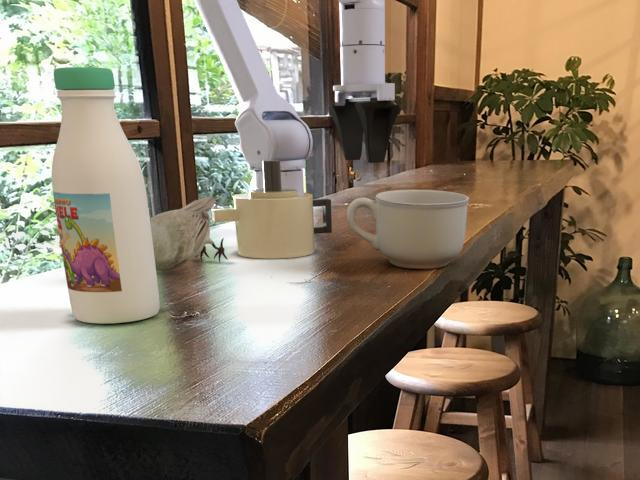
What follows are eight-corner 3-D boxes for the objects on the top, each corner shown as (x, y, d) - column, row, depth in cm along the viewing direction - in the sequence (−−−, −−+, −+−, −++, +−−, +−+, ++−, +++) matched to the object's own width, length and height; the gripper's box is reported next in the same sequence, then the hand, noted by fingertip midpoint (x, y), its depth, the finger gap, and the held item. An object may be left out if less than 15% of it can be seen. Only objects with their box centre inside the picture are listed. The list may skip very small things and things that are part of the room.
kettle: (316, 242, 112) (313, 156, 107) (345, 253, 104) (344, 160, 99) (205, 251, 106) (197, 160, 101) (227, 263, 98) (220, 164, 93)
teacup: (465, 257, 100) (468, 189, 96) (466, 274, 90) (470, 198, 87) (353, 256, 101) (352, 189, 98) (343, 272, 91) (341, 198, 88)
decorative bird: (106, 281, 88) (95, 209, 85) (199, 259, 101) (193, 195, 97) (144, 285, 85) (134, 211, 82) (234, 262, 98) (229, 197, 95)
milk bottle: (133, 302, 78) (103, 70, 70) (177, 315, 73) (150, 67, 65) (57, 316, 73) (15, 68, 65) (99, 330, 68) (58, 64, 60)
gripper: (312, 50, 108) (316, 159, 113) (357, 41, 96) (359, 164, 101) (360, 51, 110) (362, 158, 116) (410, 42, 98) (409, 162, 104)
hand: (364, 161), depth 109 cm, fingers open, 7 cm apart
